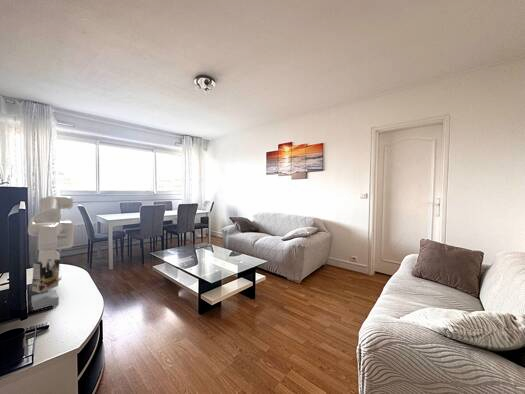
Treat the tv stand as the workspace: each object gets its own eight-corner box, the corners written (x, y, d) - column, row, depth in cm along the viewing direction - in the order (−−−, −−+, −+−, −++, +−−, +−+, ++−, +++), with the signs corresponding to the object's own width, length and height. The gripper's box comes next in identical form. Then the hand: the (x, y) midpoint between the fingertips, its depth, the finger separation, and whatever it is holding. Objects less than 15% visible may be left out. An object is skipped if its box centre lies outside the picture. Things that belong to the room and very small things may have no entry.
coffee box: (39, 293, 115) (41, 264, 115) (31, 291, 116) (32, 263, 116) (59, 286, 124) (60, 259, 123) (50, 284, 125) (52, 258, 125)
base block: (31, 304, 120) (31, 296, 120) (55, 298, 128) (55, 290, 128) (33, 312, 113) (33, 303, 113) (58, 305, 121) (58, 296, 121)
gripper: (34, 244, 121) (32, 273, 121) (42, 250, 112) (41, 282, 112) (52, 242, 127) (50, 270, 128) (61, 248, 118) (59, 278, 119)
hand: (46, 275), depth 120 cm, fingers closed on coffee box, 8 cm apart
